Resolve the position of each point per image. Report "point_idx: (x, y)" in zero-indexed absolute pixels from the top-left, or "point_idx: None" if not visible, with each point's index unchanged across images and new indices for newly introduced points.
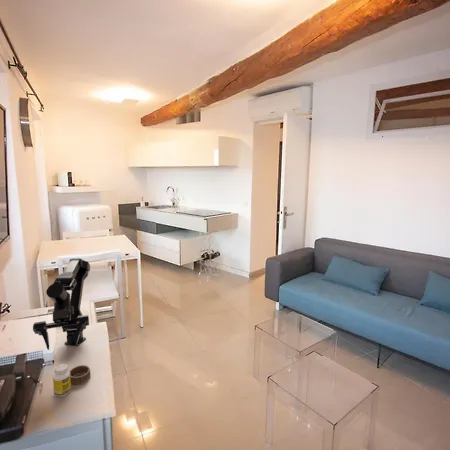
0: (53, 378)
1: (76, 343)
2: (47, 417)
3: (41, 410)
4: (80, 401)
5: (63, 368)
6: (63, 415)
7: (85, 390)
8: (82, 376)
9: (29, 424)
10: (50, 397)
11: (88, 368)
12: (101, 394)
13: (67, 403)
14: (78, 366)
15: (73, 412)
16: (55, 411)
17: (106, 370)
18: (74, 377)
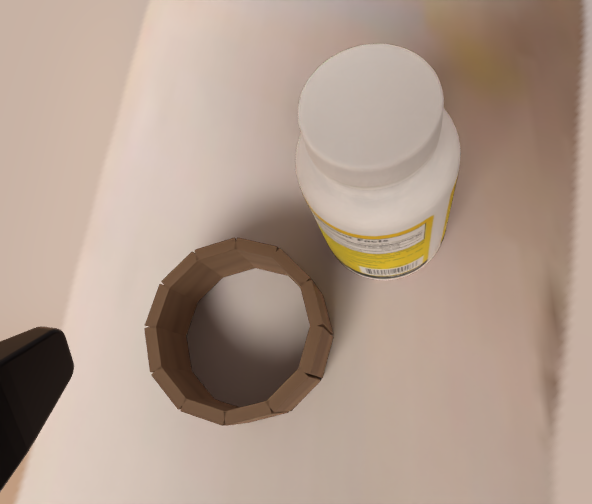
0: (453, 123)
1: (37, 329)
2: (476, 27)
3: (521, 96)
4: (283, 91)
5: (342, 72)
6: (385, 15)
7: (239, 179)
8: (220, 242)
9: (582, 6)
10: (469, 202)
11: (154, 331)
12: (163, 106)
13: None
14: (224, 412)
15: (330, 20)
16: (430, 59)
17: None
18: (279, 253)
